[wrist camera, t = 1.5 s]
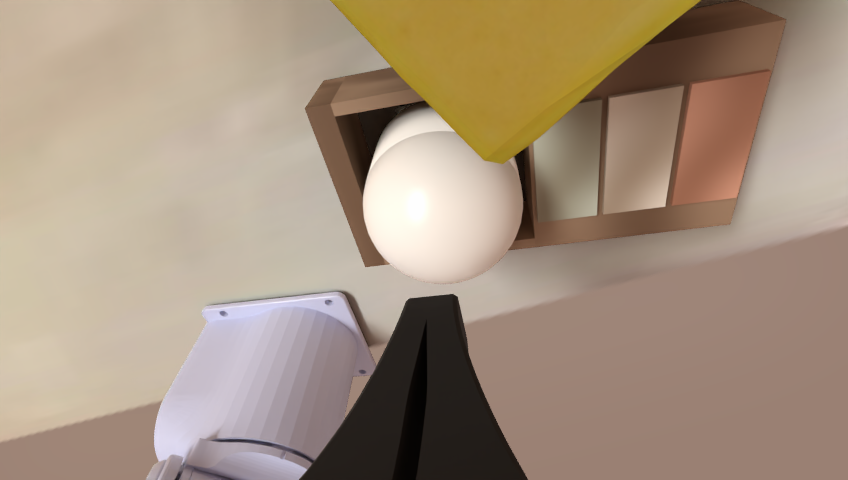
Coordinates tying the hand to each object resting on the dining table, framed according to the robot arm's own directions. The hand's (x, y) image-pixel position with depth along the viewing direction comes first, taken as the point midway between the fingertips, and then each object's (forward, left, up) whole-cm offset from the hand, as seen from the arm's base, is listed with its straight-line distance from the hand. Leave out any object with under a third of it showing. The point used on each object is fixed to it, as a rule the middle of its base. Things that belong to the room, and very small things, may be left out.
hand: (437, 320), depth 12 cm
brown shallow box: (+3, 0, -10) cm, 11 cm away
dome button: (0, 0, -9) cm, 9 cm away
